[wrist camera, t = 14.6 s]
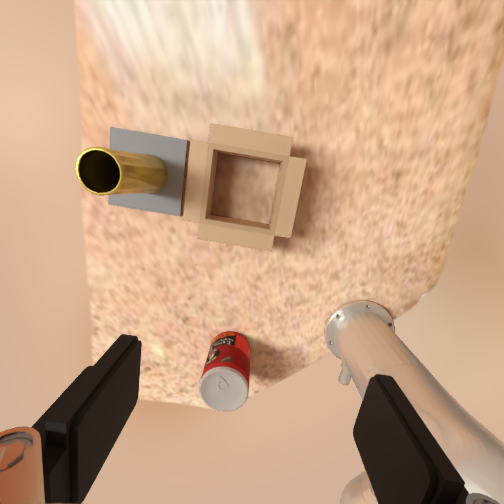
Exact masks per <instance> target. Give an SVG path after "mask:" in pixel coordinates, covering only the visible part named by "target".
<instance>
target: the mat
mask: <svg viewBox="0 0 504 504" xmlns="http://www.w3.org/2000/svg"><path fill="white" fill-rule="evenodd" d="M187 144H188V140H183V139H178V138H172V137H166V136H160V135H154V134H149V133H143V132H137V131H131V130H125V129H120V128H114V127H110V149H112V150H117V151H122V152H132V153H139V154H150V155H154V156H156V157H157V158H159V159H160V160H161V161H162V162H163V163H164V165H165V167H166V169H167V182H166V185H165V186H164V188H163V189H162V190H161V191H159V192H157V193H153V194H147V193H137V194H117V195H109V201H108V204H111V205H117V206H123V207H129V208H135V209H141V210H147V211H153V212H159V213H165V214H171V215H177V216H181V207H182V197H183V186H184V176H185V165H186V155H187Z"/></svg>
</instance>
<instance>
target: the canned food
mask: <svg viewBox="0 0 504 504" xmlns="http://www.w3.org/2000/svg"><path fill="white" fill-rule="evenodd" d="M249 373H250V347H249V344H248V342H247V341H246V339H245V338H244V337H243V336H242V335H240V334H238V333H236V332H230V331H229V332H223V333H221V334H219V335H218V336H217V337H216V338H215V339H214V340H213V341H212V343H211V346H210V350H209V353H208V357H207V360H206V363H205V367H204V370H203V374H202V377H201V381H200V388H199V391H200V395H201V397H202V399H203V401H204V402H205V403H206V404H207V405H208V406H210V407H211V408H213V409H215V410H219V411H233V410H235V409H238V408H239V407H241V406H242V405H243V404H244V403H245V401H246V400H247V397H248V391H249Z"/></svg>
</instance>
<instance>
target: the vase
mask: <svg viewBox="0 0 504 504" xmlns="http://www.w3.org/2000/svg"><path fill="white" fill-rule="evenodd" d="M76 173H77V177H78V180H79V181H80V183H81V184H82V186H83V187H84V188H85V189H87V190H88V191H89V192H91V193H93V194H96V195H101V196H104V195H117V194H137V193H147V194H153V193H157V192H159V191H161V190H162V189H163V188H164V186H165V185H166V182H167V169H166V167H165V165H164V163H163V162H162V161H161V160H160V159H159V158H157V157H156V156H154V155H150V154H139V153H132V152H122V151H117V150H112V149H108V148H104V147H91V148H88V149H86V150H84V151H83V152H82V153H81V154H80V155H79V157H78V159H77V163H76Z"/></svg>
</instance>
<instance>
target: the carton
mask: <svg viewBox="0 0 504 504" xmlns="http://www.w3.org/2000/svg"><path fill="white" fill-rule="evenodd" d="M292 141H293V137H288V136H282V135H276V134H271V133H265V132H259V131H254V130H248V129H242V128H236V127H231V126H225V125H219V124H213V123H211V124H210V132H209V141H208V142H204V141H199V140H193V139H191V141H190V152H189V162H188V172H187V183H186V193H185V203H184V213H183V221H189V222H195V223H199V229H198V238H197V239H200V240H206V241H212V242H218V243H225V244H231V245H237V246H243V247H249V248H255V249H261V250H267V251H272V246H273V241H274V236H280V237H286V238H291V234H292V229H293V224H294V220H295V215H296V210H297V205H298V200H299V195H300V191H301V186H302V181H303V176H304V171H305V166H306V162H307V159H303V158H297V157H291V156H290V152H291V146H292ZM218 153H223V154H229V155H235V156H241V157H247V158H253V159H258V160H264V161H270V162H276V163H280V167H279V172H278V178H277V183H276V189H275V194H274V200H273V205H272V211H271V216H270V222H269V224H264V223H258V222H252V221H246V220H240V219H234V218H228V217H222V216H216V215H211V208H212V200H213V192H214V184H215V175H216V167H217V159H218Z"/></svg>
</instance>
